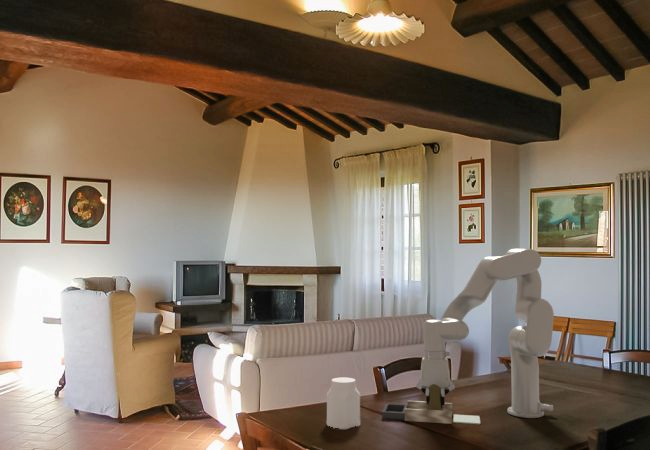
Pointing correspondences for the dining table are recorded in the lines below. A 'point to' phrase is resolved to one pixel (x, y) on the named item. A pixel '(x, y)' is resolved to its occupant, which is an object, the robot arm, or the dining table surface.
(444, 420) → the birch lane
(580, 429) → the dining table surface
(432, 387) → the cork
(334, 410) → the jar
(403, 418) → the box
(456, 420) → the pad
